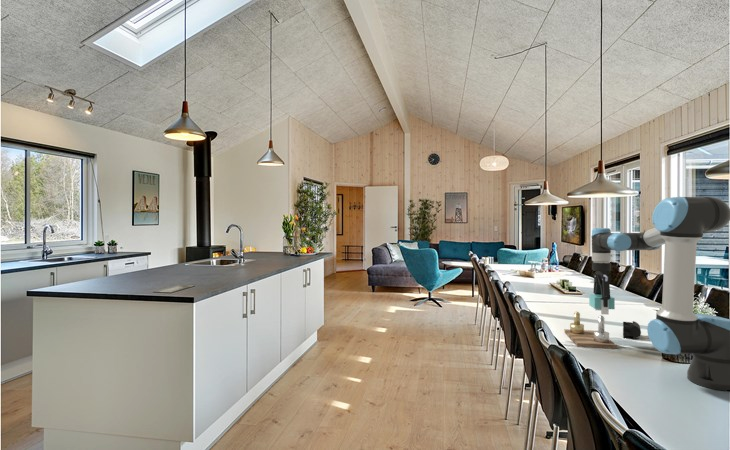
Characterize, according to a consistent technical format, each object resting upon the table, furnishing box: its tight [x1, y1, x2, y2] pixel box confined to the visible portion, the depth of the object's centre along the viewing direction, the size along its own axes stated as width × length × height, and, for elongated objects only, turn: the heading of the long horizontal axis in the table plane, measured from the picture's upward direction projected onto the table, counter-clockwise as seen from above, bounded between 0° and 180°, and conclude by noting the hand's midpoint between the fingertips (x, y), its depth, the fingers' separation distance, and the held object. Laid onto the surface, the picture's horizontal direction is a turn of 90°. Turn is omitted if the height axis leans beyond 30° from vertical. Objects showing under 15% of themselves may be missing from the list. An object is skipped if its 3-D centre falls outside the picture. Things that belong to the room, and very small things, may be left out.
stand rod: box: [593, 315, 610, 343], centre depth 190 cm, size 6×6×12 cm
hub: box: [569, 311, 585, 334], centre depth 204 cm, size 6×6×10 cm
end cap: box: [622, 320, 642, 340], centre depth 201 cm, size 10×7×7 cm
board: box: [563, 328, 618, 350], centre depth 197 cm, size 24×16×2 cm, turn 167°
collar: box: [588, 294, 616, 310], centre depth 189 cm, size 8×8×5 cm
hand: (601, 312), depth 189 cm, fingers closed on collar, 8 cm apart
